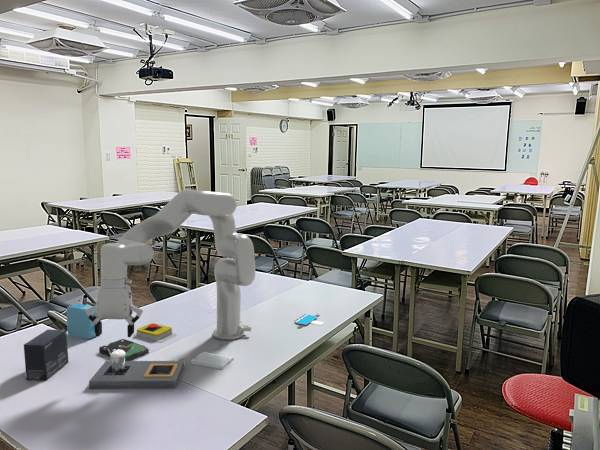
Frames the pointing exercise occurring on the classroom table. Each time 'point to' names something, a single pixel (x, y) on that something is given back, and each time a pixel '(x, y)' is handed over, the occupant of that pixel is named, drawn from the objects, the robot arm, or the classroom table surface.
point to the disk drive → (125, 349)
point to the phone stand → (307, 320)
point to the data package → (80, 322)
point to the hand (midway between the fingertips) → (114, 335)
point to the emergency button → (155, 332)
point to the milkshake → (118, 361)
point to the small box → (46, 354)
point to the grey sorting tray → (139, 375)
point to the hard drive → (212, 360)
